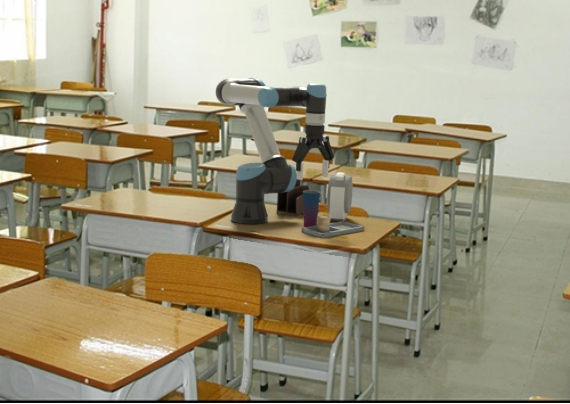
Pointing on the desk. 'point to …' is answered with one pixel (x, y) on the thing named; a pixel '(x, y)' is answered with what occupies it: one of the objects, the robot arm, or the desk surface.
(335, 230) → the gray divided tray
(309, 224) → the cup
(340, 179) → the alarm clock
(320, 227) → the beech sleeve
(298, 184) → the letter holder
